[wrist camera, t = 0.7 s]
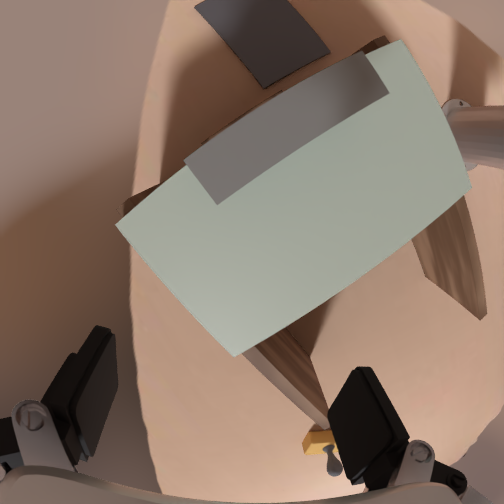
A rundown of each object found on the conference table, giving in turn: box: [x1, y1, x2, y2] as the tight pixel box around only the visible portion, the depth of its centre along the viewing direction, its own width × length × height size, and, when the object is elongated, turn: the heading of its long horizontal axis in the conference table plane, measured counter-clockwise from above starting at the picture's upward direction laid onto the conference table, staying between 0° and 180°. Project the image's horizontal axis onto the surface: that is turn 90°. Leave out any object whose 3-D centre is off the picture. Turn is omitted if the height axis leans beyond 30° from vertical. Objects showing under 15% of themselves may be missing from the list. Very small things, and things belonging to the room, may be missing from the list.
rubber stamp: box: [302, 430, 343, 476], centre depth 51 cm, size 10×6×12 cm, turn 80°
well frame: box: [116, 35, 487, 430], centre depth 32 cm, size 28×37×15 cm
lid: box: [116, 39, 472, 357], centre depth 19 cm, size 28×15×6 cm, turn 125°
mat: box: [194, 0, 330, 89], centre depth 29 cm, size 11×16×1 cm
